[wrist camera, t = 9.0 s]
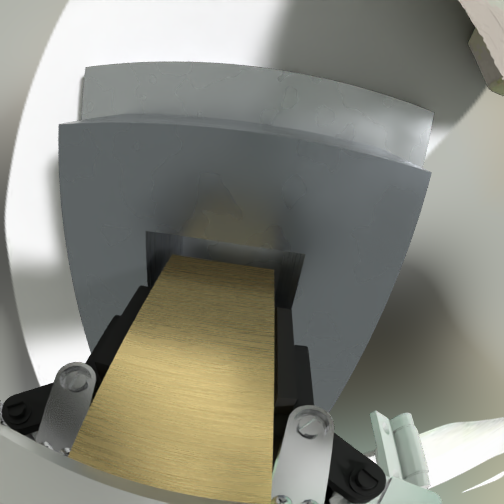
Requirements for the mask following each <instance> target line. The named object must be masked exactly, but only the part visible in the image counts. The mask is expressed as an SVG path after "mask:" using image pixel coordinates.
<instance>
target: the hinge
mask: <svg viewBox="0 0 504 504" xmlns="http://www.w3.org/2000/svg"><path fill="white" fill-rule="evenodd" d="M370 418H371V422H372V427H373V432H374V436H375V441H376V446H377V447H376V449H375V457H376V462H377V465H378V466H379V467H380V468H381V469H382V470H383V471H384V473H385V476H388V477H390V478H391V477H393V476H394V477H397V478H399V479H401V480H404V481H406V482H409V483H411V484H414V485H416V486H419V487H422V488H424V489H427V490H428V487H430V486H431V485H430V482H429V477H428V472H429V470H428V466H427V462H426V459H425V455H424V451H423V448H422V444H421V441H420V437H419V434H418V430H417V428H416V427H415V425H414V423H413V419H412V416H411V414H410V413H404V414H400V415H398V416H396V417H394V418H392V419H388V418H387V417H385V416H383V415H382V414H380V413H379V412H377V411H376V410H375V411H374V412H371V413H370Z"/></svg>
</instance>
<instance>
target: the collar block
mask: <svg viewBox="0 0 504 504" xmlns="http://www.w3.org/2000/svg"><path fill="white" fill-rule="evenodd" d="M433 117H434V112H432V111H430V110H427V109H425V108H422V107H419V106H417V105H414V104H411V103H408V102H406V101H403V100H400V99H397V98H394V97H391V96H388V95H385V94H381V93H378V92H375V91H372V90H368V89H365V88H361V87H357V86H354V85H350V84H346V83H342V82H338V81H334V80H329V79H325V78H320V77H316V76H311V75H306V74H300V73H295V72H289V71H283V70H276V69H270V68H262V67H254V66H245V65H235V64H223V63H206V62H137V63H122V64H110V65H100V66H91V67H86V69H85V78H84V88H83V100H82V117H81V120H79V121H73V122H68V123H63V124H59V178H60V194H61V206H62V215H63V224H64V232H65V240H66V246H67V253H68V259H69V265H70V270H71V275H72V280H73V285H74V290H75V295H76V299H77V303H78V308H79V312H80V316H81V320H82V323H83V327H84V331H85V334H86V338H87V341H88V345H89V348H90V351H91V353H92V351H93V350H94V348H95V346H96V345H97V343H98V341H99V340H100V338H101V336H102V335H103V333H104V331H105V330H106V328H107V326H108V325H109V323H110V322H111V320H112V318H113V317H114V316H115V315H122V313H123V311H124V310H125V308H126V307H127V305H128V303H129V302H130V300H131V299H132V297H133V295H134V294H135V292H136V291H137V289H138V287H139V286H141V285H142V286H148V287H153V286H154V284H155V283H156V281H157V279H158V277H159V276H160V274H161V272H162V271H163V269H164V267H165V266H166V264H167V262H168V261H169V259H170V257H171V256H172V254H174V255H180V256H186V257H193V258H199V259H206V260H213V261H219V262H226V263H233V264H239V265H246V266H253V267H260V268H267V269H273V270H274V311H275V310H276V307H279V308H287V309H291V310H292V320H293V334H294V345H301V346H307V347H308V351H309V359H310V368H311V378H312V388H313V398H314V406H317V407H320V408H322V409H324V410H325V411H327V412H330V411H331V409H332V407H333V406H334V404H335V402H336V401H337V399H338V397H339V395H340V394H341V392H342V390H343V389H344V387H345V385H346V383H347V381H348V380H349V378H350V376H351V374H352V372H353V370H354V369H355V367H356V365H357V363H358V361H359V359H360V357H361V355H362V353H363V352H364V350H365V348H366V346H367V344H368V342H369V340H370V338H371V335H372V333H373V331H374V329H375V327H376V325H377V323H378V321H379V319H380V316H381V314H382V312H383V310H384V307H385V305H386V303H387V301H388V298H389V296H390V294H391V291H392V289H393V286H394V284H395V281H396V279H397V277H398V274H399V272H400V269H401V266H402V264H403V261H404V258H405V256H406V253H407V250H408V247H409V245H410V242H411V239H412V236H413V233H414V230H415V227H416V224H417V221H418V218H419V214H420V212H421V208H422V205H423V202H424V198H425V195H426V191H427V188H428V184H429V181H430V177H431V172H430V171H428V170H426V169H424V168H423V164H424V160H425V156H426V151H427V147H428V142H429V138H430V133H431V128H432V122H433Z"/></svg>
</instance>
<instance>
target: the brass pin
mask: <svg viewBox="0 0 504 504" xmlns="http://www.w3.org/2000/svg"><path fill="white" fill-rule="evenodd" d="M273 417H274V270H273V269H267V268H260V267H253V266H246V265H239V264H233V263H226V262H219V261H213V260H206V259H199V258H193V257H186V256H180V255H174V254H172V256H171V257H170V259H169V261H168V262H167V264H166V266H165V267H164V269H163V271H162V272H161V274H160V276H159V277H158V279H157V281H156V283H155V284H154V286H153V288H152V290H151V291H150V293H149V295H148V297H147V298H146V300H145V302H144V304H143V305H142V307H141V309H140V311H139V313H138V314H137V316H136V318H135V320H134V322H133V323H132V325H131V327H130V329H129V331H128V333H127V335H126V336H125V338H124V340H123V342H122V344H121V346H120V348H119V350H118V352H117V354H116V355H115V357H114V359H113V361H112V363H111V365H110V367H109V369H108V371H107V373H106V375H105V377H104V379H103V381H102V383H101V385H100V387H99V389H98V391H97V393H96V396H95V398H94V400H93V402H92V404H91V406H90V408H89V410H88V412H87V415H86V417H85V419H84V421H83V423H82V426H81V428H80V430H79V432H78V435H77V437H76V439H75V441H74V444H73V446H72V448H71V451H70V453H69V456H68V457H69V458H71V459H74V460H76V461H78V462H81V463H83V464H86V465H88V466H91V467H93V468H96V469H98V470H101V471H104V472H107V473H110V474H113V475H115V476H118V477H122V478H125V479H128V480H131V481H134V482H138V483H141V484H145V485H149V486H152V487H156V488H160V489H164V490H169V491H173V492H178V493H182V494H187V495H193V496H198V497H204V498H211V499H217V500H225V501H233V502H243V503H255V504H271V490H272V460H273Z"/></svg>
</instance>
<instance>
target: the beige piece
mask: <svg viewBox="0 0 504 504" xmlns="http://www.w3.org/2000/svg"><path fill="white" fill-rule="evenodd" d="M458 1H459V2H460V3H461V4H462V7H463V8H464V9H465V10H466V12H467V13H468V16H469V17H470V19H471V21H472V23H473V24H474V26H475V29H474V31H473V34H472V36H471V38H470V40H469V42H468V45H469V47H470V49H471V51H472V53H473V55H474V57H475V60H476V62H477V64H478V66H479V68H480V71H481V73H482V75H483V77H484V79H485V82H486V84H487V87H488V88H489V89H490V90H491V91H492V92H495V93H497V94H499V95H502V96H504V0H458Z"/></svg>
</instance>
